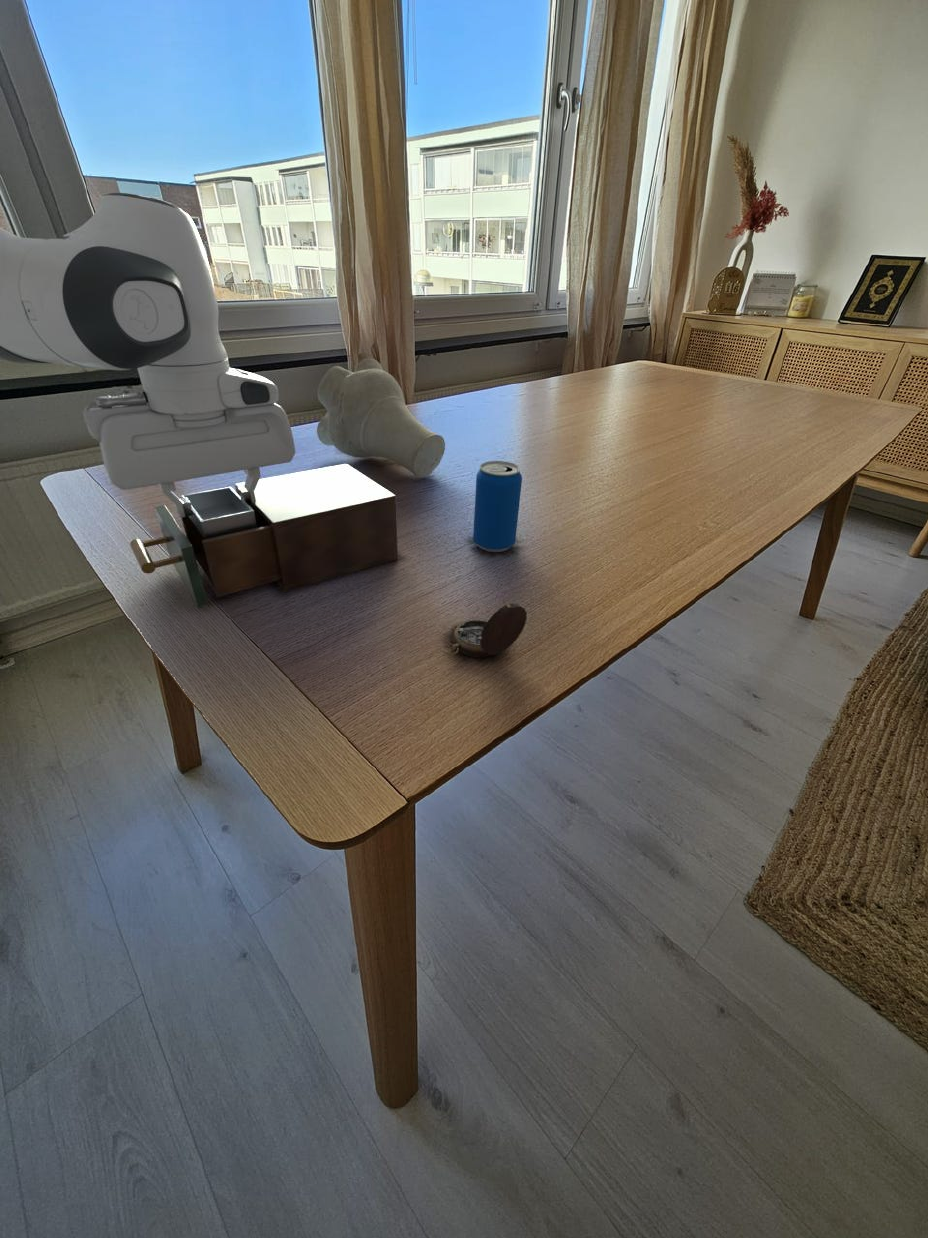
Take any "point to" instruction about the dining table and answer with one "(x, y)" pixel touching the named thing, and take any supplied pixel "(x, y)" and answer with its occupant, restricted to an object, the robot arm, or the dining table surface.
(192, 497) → the tray
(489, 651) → the compass
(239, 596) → the dining table surface
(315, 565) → the cabinet
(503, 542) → the beverage can
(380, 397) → the vase
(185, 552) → the drawer
